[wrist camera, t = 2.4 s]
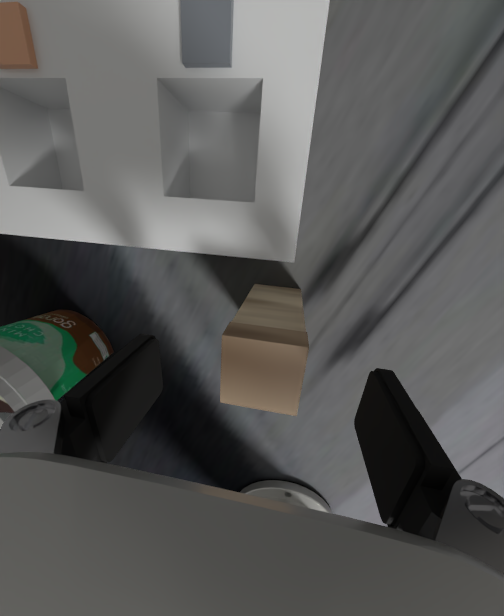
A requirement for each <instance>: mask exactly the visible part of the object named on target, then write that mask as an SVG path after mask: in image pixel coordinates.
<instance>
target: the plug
mask: <svg viewBox="0 0 504 616" xmlns="http://www.w3.org/2000/svg"><path fill="white" fill-rule="evenodd" d="M308 350H309V344H308V336H307V332H306V329H305V321H304V312H303V304H302V295H301V289H296V288H287V287H278V286H269V285H260V284H254V286H253V287H252V289H251V291H250V292H249V294H248V296H247V297H246V299H245V301H244V302H243V304H242V305H241V307H240V309H239V310H238V312H237V314H236V315H235V317H234V319H233V320H232V322H230V323H229V325H228V326H227V328H226V329H225V331H224V333H223V334H222V353H221V389H220V402H221V403H226V404H232V405H238V406H243V407H249V408H254V409H260V410H265V411H271V412H276V413H282V414H288V415H293V416H297V410H298V405H299V400H300V394H301V389H302V383H303V378H304V372H305V367H306V361H307V356H308Z"/></svg>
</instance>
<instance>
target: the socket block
mask: <svg viewBox="0 0 504 616" xmlns="http://www.w3.org/2000/svg"><path fill="white" fill-rule="evenodd" d="M329 1H330V0H0V234H10V235H20V236H30V237H40V238H51V239H61V240H71V241H81V242H91V243H101V244H111V245H122V246H132V247H142V248H152V249H162V250H172V251H182V252H193V253H203V254H213V255H223V256H233V257H243V258H253V259H263V260H274V261H284V262H294V259H295V252H296V244H297V237H298V230H299V222H300V215H301V207H302V200H303V193H304V185H305V178H306V171H307V163H308V156H309V149H310V141H311V134H312V126H313V119H314V112H315V104H316V97H317V90H318V82H319V75H320V67H321V60H322V53H323V45H324V38H325V31H326V23H327V16H328V9H329Z"/></svg>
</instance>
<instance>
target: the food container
mask: <svg viewBox="0 0 504 616" xmlns="http://www.w3.org/2000/svg"><path fill="white" fill-rule="evenodd" d="M113 352H114V351H113V349H112V346H111V343H110V341H109V340H108V338H107V337H106V335H105V334H104V332H103V331H102V330H101V329H100V328H99V327H98V326H97V325H96V324H95V323H94V322H93V321H92V320H90V319H88V318H87V317H85V316H83V315H82V314H80V313H77V312H74V311H71V310H64V309H62V310H55V311H52V312H49V313H45V314H42V315H39V316H35V317H32V318H29V319H25V320H22V321H18V322H15V323H12V324H8V325H5V326H2V327H0V412H8V413H14V412H15V411H17V410H18V409H20V408H22V407H24V406H26V405H28V404H31V403H34V402H37V401H41V400H56V401H57V400H58V399H59V398H60V397H62V396H63V395H64V394H65V393H66V392H68V391H69V390H70V389H71V388H72V387H73V386H75V385H76V384H77V383H78V382H79V381H80V380H82V379H83V378H84V377H85V376H86V375H87V374H89V373H90V372H91V371H92V370H93V369H95V368H96V367H97V366H98V365H99V364H100V363H102V362H103V361H104V360H105V359H106V358H107V357H109V356H110V355H111V354H112V353H113Z"/></svg>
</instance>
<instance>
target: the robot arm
mask: <svg viewBox="0 0 504 616" xmlns="http://www.w3.org/2000/svg"><path fill="white" fill-rule="evenodd" d="M162 389H163V379H162V369H161V360H160V350H159V342H158V340H157V339H156V338H155V336H153V335H146V334H140V335H139V336H137V337H136V338H135V339H134V340H132V341H131V342H130V343H129V344H127V345H126V346H125V347H124V348H122V349H121V350H120V351H119V352H117V353H116V354H115V355H114V356H112V357H111V358H110V359H109V360H108V361H106V362H105V363H104V364H103V365H101V366H100V367H99V368H98V369H96V370H95V371H94V372H93V373H91V374H90V375H89V376H88V377H86V378H85V379H84V380H83V381H81V382H80V383H79V384H78V385H76V386H75V387H74V388H73V389H71V390H70V391H69V392H68V393H66V394H65V395H64V397H65V400H64V401H63V402H62V403H59V402H58V401H56V400H41V401H37V402H34V403H31V404H28V405H26V406H24V407H22V408H20V409H18V410H17V411H15V412H14V413H12V414H11V415H10V416H9V417H8V418H7V419H6V420H5V422H4V423H3V425H2V427H1V429H0V616H504V498H503V497H501V496H500V495H498V494H497V493H496V492H494V491H493V490H492V489H490V488H488V487H486V486H484V485H482V484H480V483H478V482H475V481H472V480H466V479H461V477H460V475H459V474H458V472H457V471H456V469H455V468H454V466H453V464H452V463H451V461H450V460H449V458H448V456H447V455H446V453H445V452H444V450H443V449H442V447H441V445H440V444H439V442H438V441H437V439H436V437H435V436H434V434H433V433H432V431H431V430H430V428H429V426H428V425H427V423H426V422H425V420H424V419H423V417H422V415H421V414H420V412H419V411H418V410H417V408H416V407H415V405H414V404H413V402H412V400H411V399H410V397H409V396H408V394H407V393H406V391H405V389H404V388H403V386H402V385H401V383H400V381H399V380H398V378H397V377H396V375H395V373H394V372H393V371H391V370H385V369H379V368H377V369H375V371H371V372H370V373H369V376H368V379H367V382H366V385H365V389H364V392H363V395H362V398H361V401H360V404H359V407H358V410H357V413H356V416H355V421H354V425H355V430H356V433H357V437H358V440H359V444H360V447H361V451H362V454H363V458H364V461H365V465H366V468H367V472H368V475H369V479H370V482H371V486H372V489H373V493H374V496H375V499H376V503H377V506H378V510H379V513H380V517H381V519H382V521H383V523H385V524H387V525H388V527H385V526H381V525H377V524H373V523H369V522H365V521H361V520H357V519H353V518H349V517H345V516H340V515H336V514H332V511H331V509H330V508H329V506H328V504H327V503H326V502H325V501H324V500H323V499H322V498H321V497H320V496H318V495H317V494H316V493H314V492H313V491H311V490H309V489H307V488H306V487H303V486H300V485H298V484H295V483H291V482H287V481H279V480H266V481H259V482H256V483H253V484H250V485H248V486H247V487H245V488H244V489H242V490H241V491H240V492H235V491H230V490H226V489H221V488H217V487H212V486H208V485H203V484H199V483H194V482H190V481H185V480H181V479H176V478H172V477H167V476H162V475H158V474H153V473H149V472H144V471H139V470H135V469H130V468H125V467H121V466H116V465H112V464H107V462H110V461H112V460H113V459H114V457H115V456H116V454H117V453H118V452H119V450H120V449H121V448H122V446H123V445H124V443H125V442H126V441H127V439H128V438H129V437H130V435H131V434H132V432H133V431H134V430H135V428H136V427H137V426H138V424H139V423H140V421H141V420H142V419H143V417H144V416H145V415H146V413H147V412H148V410H149V409H150V408H151V406H152V405H153V404H154V402H155V401H156V399H157V398H158V397H159V395H160V394H161V392H162Z"/></svg>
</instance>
